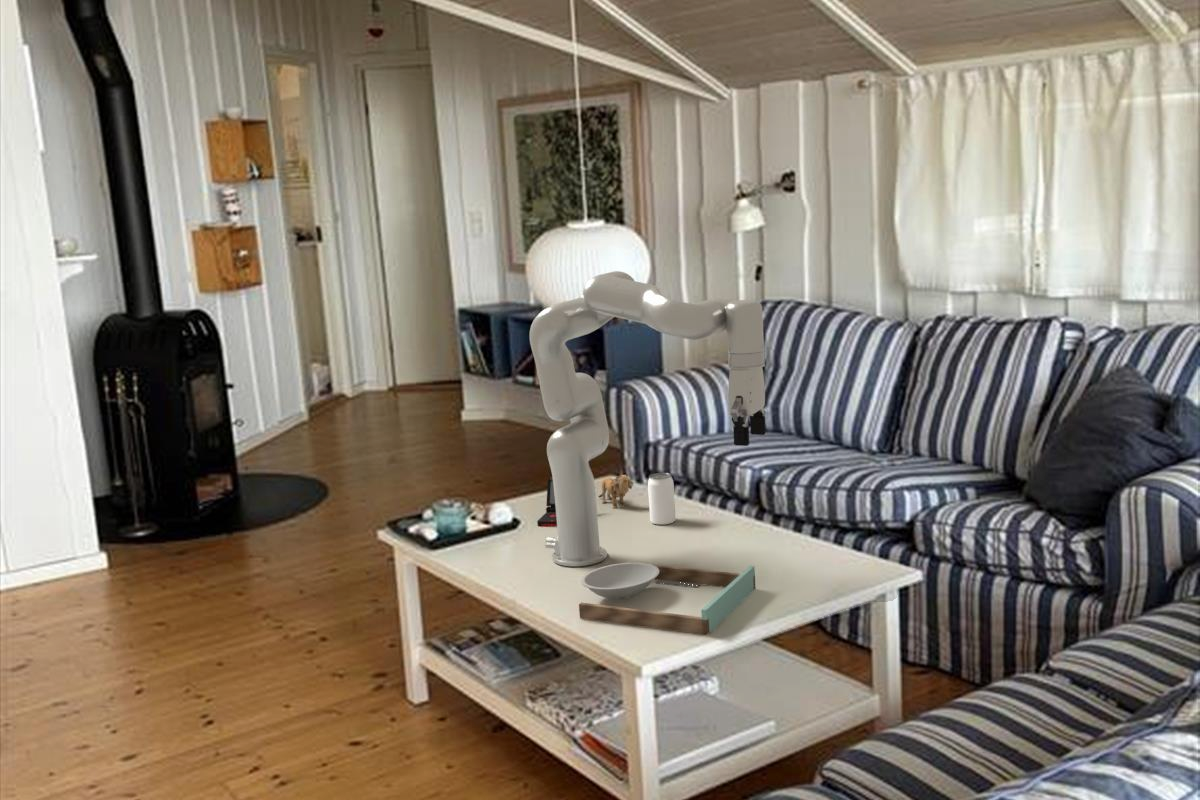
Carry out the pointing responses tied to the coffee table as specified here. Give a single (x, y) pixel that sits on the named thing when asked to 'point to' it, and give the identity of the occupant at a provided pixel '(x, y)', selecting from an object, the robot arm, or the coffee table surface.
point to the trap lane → (711, 614)
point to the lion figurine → (616, 489)
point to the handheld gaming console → (550, 514)
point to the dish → (620, 579)
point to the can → (661, 499)
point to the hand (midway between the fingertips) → (750, 439)
